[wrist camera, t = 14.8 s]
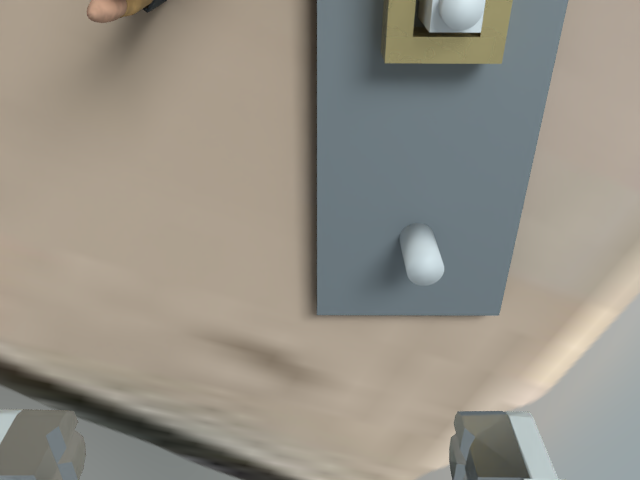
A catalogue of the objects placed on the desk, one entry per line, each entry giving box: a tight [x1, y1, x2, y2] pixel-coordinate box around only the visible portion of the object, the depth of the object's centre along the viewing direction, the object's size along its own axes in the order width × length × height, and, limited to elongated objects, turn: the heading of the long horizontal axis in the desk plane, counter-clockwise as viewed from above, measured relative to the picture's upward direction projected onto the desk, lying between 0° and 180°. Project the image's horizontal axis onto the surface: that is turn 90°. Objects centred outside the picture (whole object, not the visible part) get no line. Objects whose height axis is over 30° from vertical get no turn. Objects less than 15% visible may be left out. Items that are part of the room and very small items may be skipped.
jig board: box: [317, 0, 568, 315], centre depth 33 cm, size 14×32×6 cm, turn 0°
